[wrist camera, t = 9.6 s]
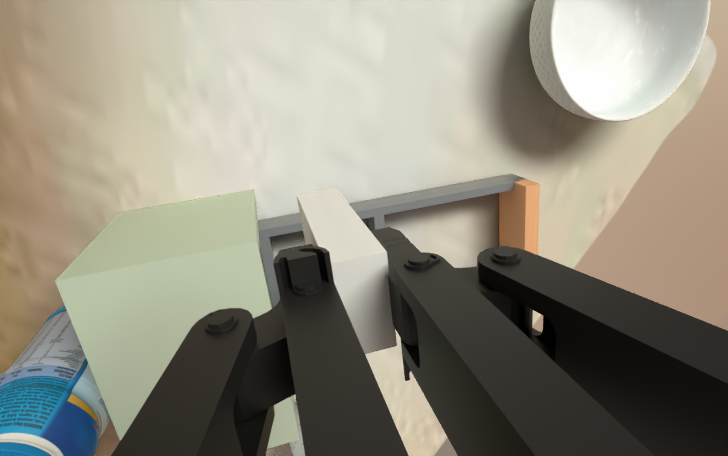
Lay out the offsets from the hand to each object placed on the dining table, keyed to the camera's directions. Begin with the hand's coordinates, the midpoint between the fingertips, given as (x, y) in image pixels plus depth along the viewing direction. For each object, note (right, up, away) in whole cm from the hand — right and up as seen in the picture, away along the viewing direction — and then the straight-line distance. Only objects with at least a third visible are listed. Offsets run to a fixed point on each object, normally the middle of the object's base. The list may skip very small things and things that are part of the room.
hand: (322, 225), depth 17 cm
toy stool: (-14, -5, +27) cm, 31 cm away
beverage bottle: (-25, -10, +26) cm, 37 cm away
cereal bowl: (+24, +20, +28) cm, 42 cm away
